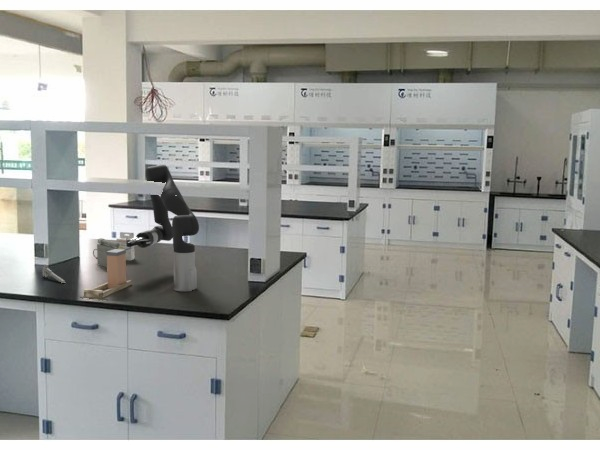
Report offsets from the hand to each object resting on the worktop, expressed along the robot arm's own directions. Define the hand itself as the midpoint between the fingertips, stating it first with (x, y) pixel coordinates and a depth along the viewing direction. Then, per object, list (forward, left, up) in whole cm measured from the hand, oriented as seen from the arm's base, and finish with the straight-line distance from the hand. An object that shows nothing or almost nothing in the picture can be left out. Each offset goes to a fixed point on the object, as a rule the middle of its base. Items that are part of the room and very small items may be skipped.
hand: (128, 244), depth 273 cm
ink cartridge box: (+30, -48, -18) cm, 59 cm away
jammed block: (0, +10, -17) cm, 20 cm away
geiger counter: (+30, -29, -18) cm, 45 cm away
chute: (0, +17, -18) cm, 25 cm away
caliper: (+36, +5, -19) cm, 41 cm away
